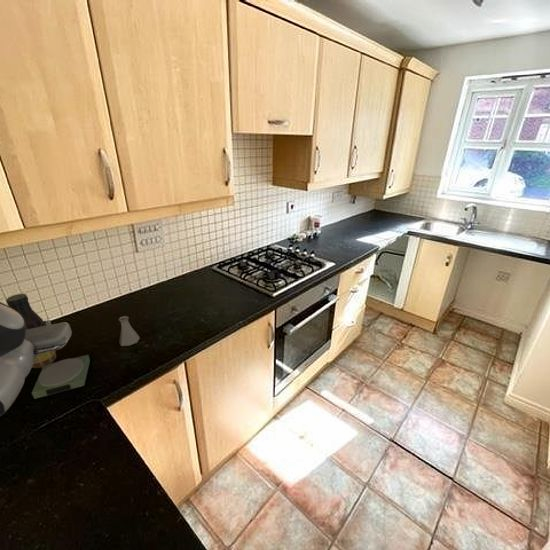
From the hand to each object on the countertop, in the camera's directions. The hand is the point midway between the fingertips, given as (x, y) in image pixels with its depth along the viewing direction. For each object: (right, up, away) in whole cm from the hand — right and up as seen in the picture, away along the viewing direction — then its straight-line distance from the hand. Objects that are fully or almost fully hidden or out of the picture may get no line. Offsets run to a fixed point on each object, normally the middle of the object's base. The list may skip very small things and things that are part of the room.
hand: (30, 325), depth 78 cm
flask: (+9, -12, +36) cm, 39 cm away
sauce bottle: (+1, -11, +4) cm, 11 cm away
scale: (-4, -20, +18) cm, 27 cm away
